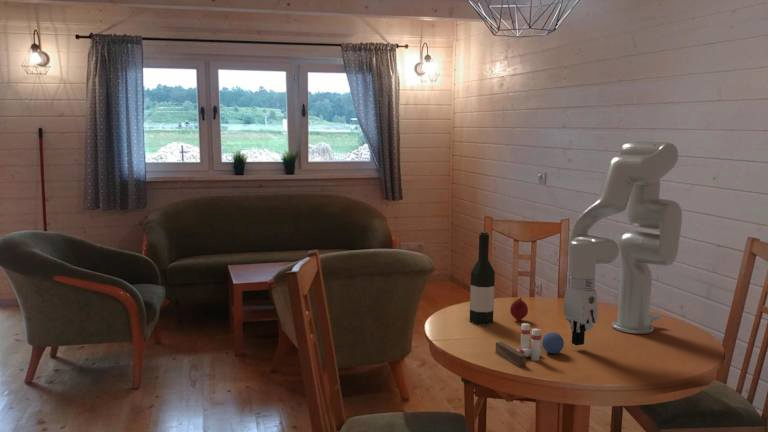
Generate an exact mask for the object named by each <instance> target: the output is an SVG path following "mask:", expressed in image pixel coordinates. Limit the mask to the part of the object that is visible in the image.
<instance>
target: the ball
mask: <svg viewBox="0 0 768 432" xmlns="http://www.w3.org/2000/svg"><path fill="white" fill-rule="evenodd" d="M541 341H542V342H541V345H542V348H543V350H545V352H546V353H549V354H551V355H555V354H559V353H560V352H561V351H562V350H563V349H564V345H565V342H564V339H563V337H562V335H560V334H559V333H557V332H548V333H546V334H545V335H544V336H543V337H542V339H541Z"/></svg>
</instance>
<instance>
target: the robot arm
mask: <svg viewBox="0 0 768 432" xmlns="http://www.w3.org/2000/svg"><path fill="white" fill-rule="evenodd" d="M619 152H620V153H619V155H616V156H614V157H612V158H611V159H610V161H609V163H608V166H607V168H606V172H605V174H604V178H603V181H602V184H601V187H600V190H599V194H598V197H597V199H596V201H595V202H594V203H593V204H591V205H590V206H588V207H587V208H586V209H585V210H584V211H583V212H582V213H581V214H580V215H579V216H578V218H577V219H576V221H575V222H574V225H573V228H572V230H571V234H570V237H569V241H568V248H567V249H568V260H567V261H568V264H567V266H568V267H567V283H566V284H567V285H566V288H565V294H564V297H563V298H564V299H563V315H564V316H565V319H566V321H567V322H569V324H570V330H571V345H574V346H581V345H584V344H585V334H586V332H587V330H592V329H594V324H596V323H598V318H599V317H598V316H599V308H598V307H599V306H598V305H599V304H598V294H597V290H596V289H595V286H596V268H597V267H596V266H597V265H600V264H601V265H606V264H607V265H608V264H611V263H613V262H614V261H615V260H616V259H617V258H618V256H619V259H620V260H619V262H620V263H619V264H620V274H619V289H618V291H619V292H618V304H617V305H618V306H617V319H615V320H613V321H612V322H611V326H612V328H614V329H615V330H617V331H619V332H623V333H627V334H634V335H636V334H637V335H644V334H650V333H653V332H654V329H655V327H654V326H653V324H652V323H653V322H659V321H660V320H661V316H660V315H659V314H655V315H654V314H653V315H652V314H650V310H651V298H652V297H651V294H652V281H653V275H652V271H651V269H650V267H649V265H648V264H650V265H656V266H662V267H668V266H671V265H673V264H674V263H675V261H676V259H677V256H678V253H679V247H680V238H681V237H680V236H681V231H682V223H683V221H682V220H683V211H682V207H681V205H680V203H678V202H677V201H675V200H671V199H664V198H663V199H662V198H660V192H661V181H660V180H661V179H662V178H663V177H665V176H666V175H667V174H668V173H670V171H672V170H673V169H674V168H675V166H676V165H677V162H678V159H679V151H678V148H677V146H676V145H675V144H673V143H671V142H667V141H643V140H642V141H641V140H638V141H636V140H635V141H628V142H625V143H624V144H622V145H621V147H620V150H619ZM628 203H629V204H628ZM627 206H628V207H627ZM627 208H628V210H627V211H628V212H627V221H628V222H629V224H630V225H632V226H634V227H638V228H645V229H650V230H651V229H652V230H658V231H659V233H654V232H645V231H638V230H630V231H627V232H626V231H625V232H624V233H623V234H622V235H621V236H620V238H619V240H618V243H617V242H616V241H615V240H613V239H611V238H608V237H601V236H597V235H596V236H595V235H589V232H590V230H591V228H593V226H594V225H595V224H596V223H597V222H600V221H601V220H604V219H606V218H609V217H611V216H615V215H617V214H620V213H622V212H624V211H625V210H626V209H627Z"/></svg>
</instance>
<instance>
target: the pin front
mask: <svg viewBox="0 0 768 432" xmlns="http://www.w3.org/2000/svg"><path fill="white" fill-rule="evenodd" d="M516 350H517V351H519V352H521V353H523V354H524V355H526V358H531V347H529V348H526V349H521V348H519V349H516ZM542 354H543V350H542V348H541V347H540V356H541V355H542Z"/></svg>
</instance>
